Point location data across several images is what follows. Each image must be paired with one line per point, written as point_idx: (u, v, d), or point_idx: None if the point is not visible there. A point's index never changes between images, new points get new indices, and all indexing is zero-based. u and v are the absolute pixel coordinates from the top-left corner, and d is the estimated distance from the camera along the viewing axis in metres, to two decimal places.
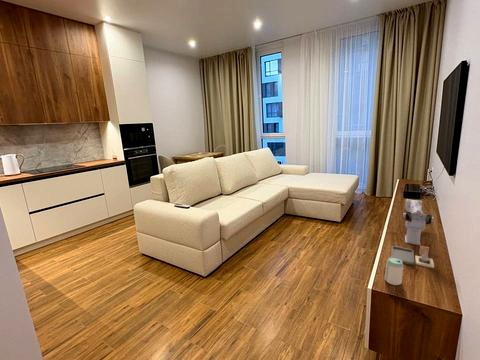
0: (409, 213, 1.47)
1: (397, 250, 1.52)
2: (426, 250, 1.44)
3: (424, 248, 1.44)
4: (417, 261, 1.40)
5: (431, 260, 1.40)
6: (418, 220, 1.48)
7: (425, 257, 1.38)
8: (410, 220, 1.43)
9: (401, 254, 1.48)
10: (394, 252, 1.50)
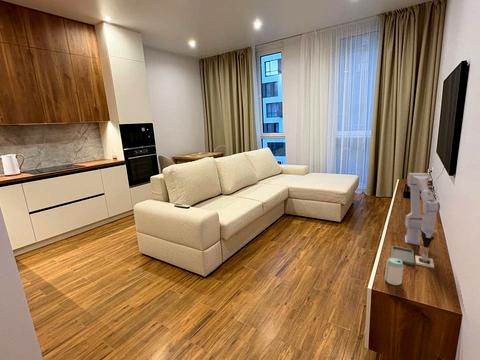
0: None
1: (397, 250, 1.52)
2: (426, 250, 1.44)
3: (424, 248, 1.44)
4: (417, 261, 1.40)
5: (431, 260, 1.40)
6: None
7: (425, 257, 1.38)
8: None
9: (401, 254, 1.48)
10: (394, 252, 1.50)
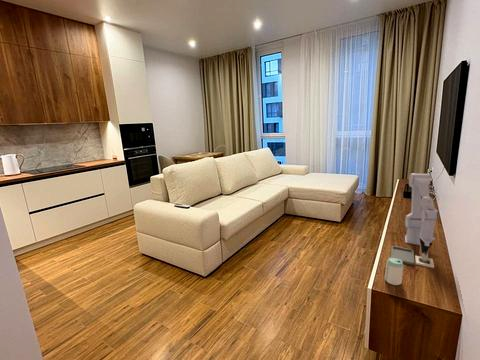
0: None
1: (397, 250, 1.52)
2: None
3: None
4: (417, 261, 1.40)
5: (431, 260, 1.40)
6: None
7: (425, 257, 1.38)
8: (423, 252, 1.44)
9: (401, 254, 1.48)
10: (394, 252, 1.50)
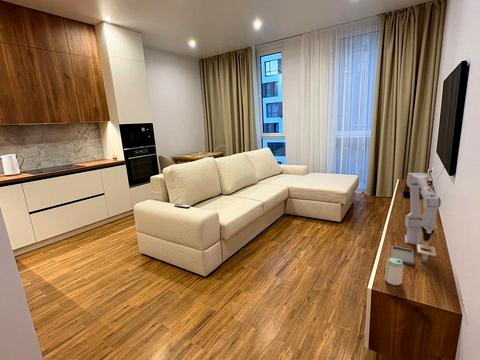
0: None
1: (397, 250, 1.52)
2: None
3: None
4: (419, 249, 1.38)
5: (433, 248, 1.38)
6: None
7: (425, 257, 1.38)
8: (425, 240, 1.42)
9: (401, 254, 1.48)
10: (394, 252, 1.50)
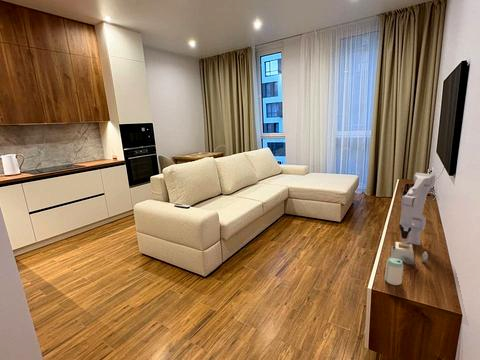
0: None
1: (397, 250, 1.52)
2: None
3: None
4: (397, 247, 1.43)
5: (410, 246, 1.44)
6: None
7: (425, 257, 1.38)
8: None
9: (401, 254, 1.48)
10: (394, 252, 1.50)
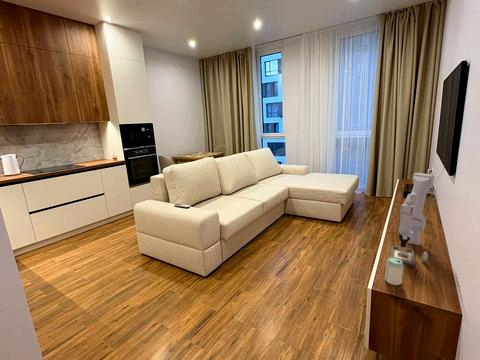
0: None
1: (397, 250, 1.52)
2: None
3: None
4: (395, 256, 1.45)
5: (409, 255, 1.45)
6: None
7: (425, 257, 1.38)
8: None
9: None
10: None
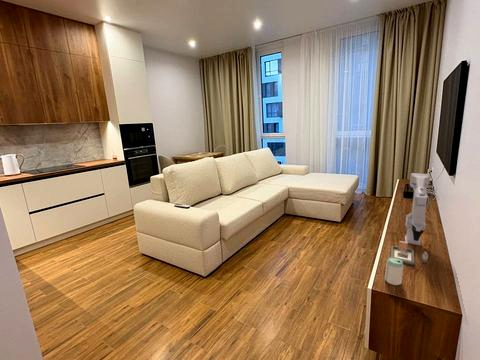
0: None
1: (397, 250, 1.52)
2: (405, 245, 1.49)
3: (403, 243, 1.49)
4: (395, 256, 1.45)
5: (409, 255, 1.45)
6: None
7: (425, 257, 1.38)
8: (415, 240, 1.45)
9: None
10: None
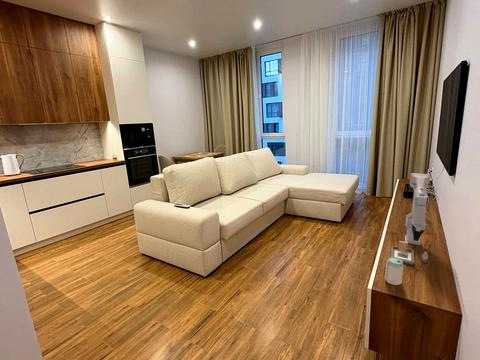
0: None
1: (397, 250, 1.52)
2: (405, 245, 1.49)
3: (403, 243, 1.49)
4: (395, 256, 1.45)
5: (409, 255, 1.45)
6: None
7: (425, 257, 1.38)
8: (415, 240, 1.45)
9: None
10: None
